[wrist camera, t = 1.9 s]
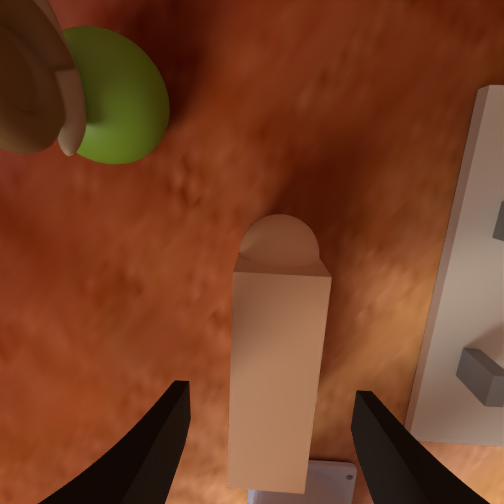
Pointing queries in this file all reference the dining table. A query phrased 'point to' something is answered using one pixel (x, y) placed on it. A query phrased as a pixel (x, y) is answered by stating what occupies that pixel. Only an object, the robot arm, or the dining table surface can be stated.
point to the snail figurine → (76, 88)
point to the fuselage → (275, 354)
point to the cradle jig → (468, 300)
